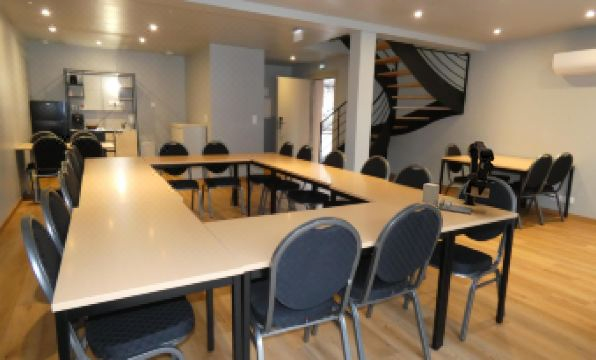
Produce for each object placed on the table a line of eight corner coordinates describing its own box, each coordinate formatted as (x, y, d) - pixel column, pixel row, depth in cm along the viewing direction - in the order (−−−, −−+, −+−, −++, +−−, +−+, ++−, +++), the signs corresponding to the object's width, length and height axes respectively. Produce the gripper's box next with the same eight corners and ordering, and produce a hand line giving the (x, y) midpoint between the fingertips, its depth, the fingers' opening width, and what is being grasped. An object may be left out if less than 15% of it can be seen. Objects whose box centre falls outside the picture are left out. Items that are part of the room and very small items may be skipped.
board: (441, 204, 242) (442, 197, 241) (471, 209, 234) (472, 202, 233) (438, 209, 229) (439, 202, 228) (470, 214, 221) (471, 207, 220)
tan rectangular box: (470, 194, 232) (471, 186, 231) (488, 196, 227) (489, 188, 226) (470, 195, 227) (471, 187, 226) (488, 198, 223) (489, 190, 222)
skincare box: (437, 208, 233) (440, 185, 231) (431, 209, 230) (434, 185, 227) (426, 204, 240) (429, 182, 238) (420, 205, 237) (423, 183, 234)
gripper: (469, 166, 236) (466, 190, 239) (468, 169, 220) (464, 195, 222) (488, 168, 231) (485, 192, 234) (488, 172, 215) (485, 198, 218)
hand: (479, 194), depth 227 cm, fingers closed on tan rectangular box, 5 cm apart
